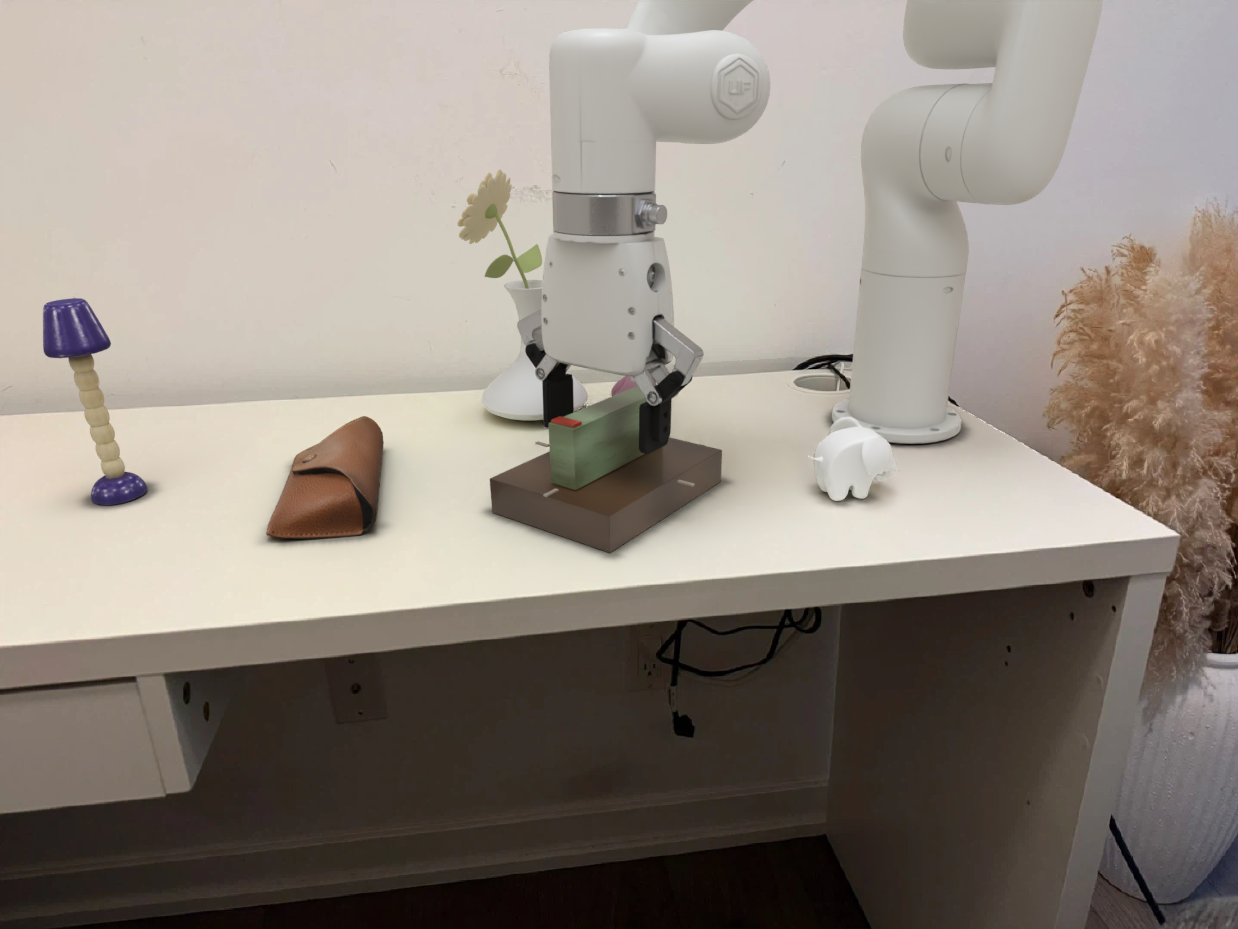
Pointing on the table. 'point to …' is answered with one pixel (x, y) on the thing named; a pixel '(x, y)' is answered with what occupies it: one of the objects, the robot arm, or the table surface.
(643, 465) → the base
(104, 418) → the toy lamp
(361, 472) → the sunglasses case
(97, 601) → the table surface
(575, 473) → the green rectangular block
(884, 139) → the robot arm
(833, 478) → the elephant figurine
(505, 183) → the flower in vase
